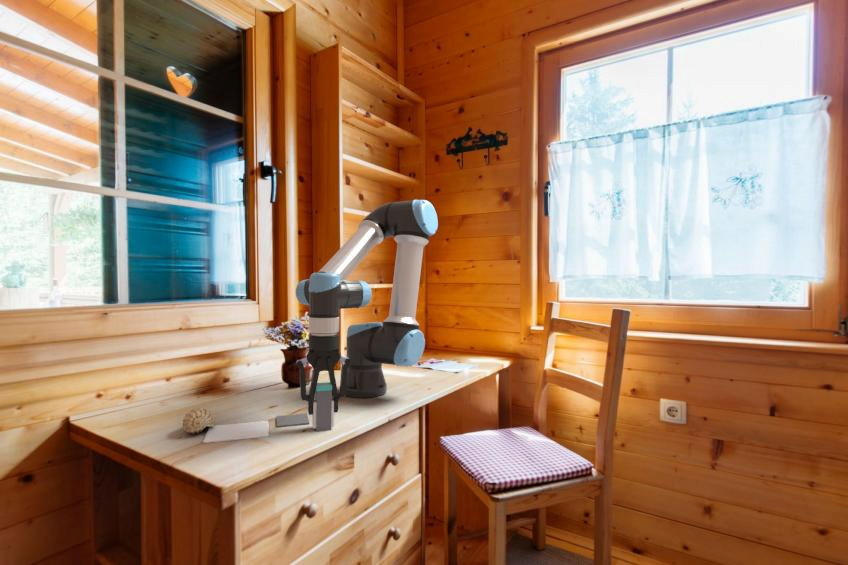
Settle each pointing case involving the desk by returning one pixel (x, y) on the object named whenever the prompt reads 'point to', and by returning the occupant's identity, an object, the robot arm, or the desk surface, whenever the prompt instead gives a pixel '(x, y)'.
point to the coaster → (292, 420)
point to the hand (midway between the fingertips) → (323, 425)
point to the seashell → (197, 421)
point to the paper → (237, 431)
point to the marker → (323, 406)
